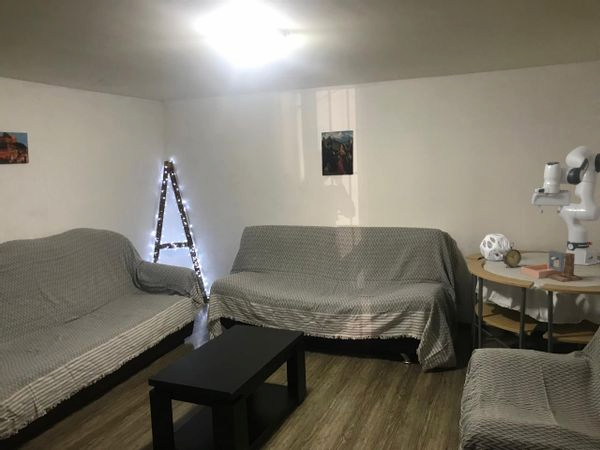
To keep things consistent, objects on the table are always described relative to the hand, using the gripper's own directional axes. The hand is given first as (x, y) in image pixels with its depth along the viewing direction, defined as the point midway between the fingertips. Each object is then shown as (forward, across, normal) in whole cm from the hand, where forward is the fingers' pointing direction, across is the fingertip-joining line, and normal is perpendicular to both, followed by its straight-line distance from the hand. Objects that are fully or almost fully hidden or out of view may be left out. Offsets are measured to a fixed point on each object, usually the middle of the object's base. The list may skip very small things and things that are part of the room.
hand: (549, 213), depth 283 cm
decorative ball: (+37, +25, -38) cm, 59 cm away
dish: (+37, +2, -1) cm, 37 cm away
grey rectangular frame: (+31, -2, +12) cm, 34 cm away
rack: (+37, -7, +9) cm, 39 cm away
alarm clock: (+37, +18, -17) cm, 44 cm away
